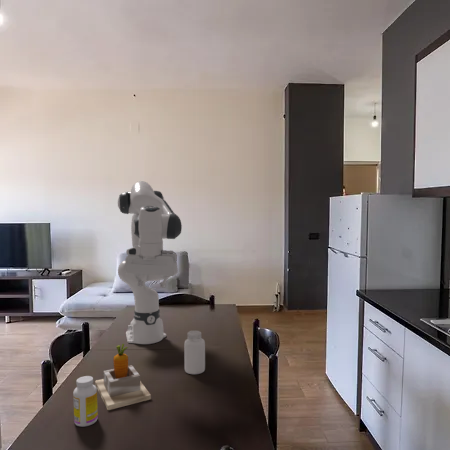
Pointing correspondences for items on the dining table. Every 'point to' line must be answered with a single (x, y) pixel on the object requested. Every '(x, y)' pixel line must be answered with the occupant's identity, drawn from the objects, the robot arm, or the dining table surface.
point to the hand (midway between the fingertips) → (151, 286)
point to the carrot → (120, 363)
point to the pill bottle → (194, 353)
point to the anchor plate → (121, 389)
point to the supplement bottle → (85, 402)
